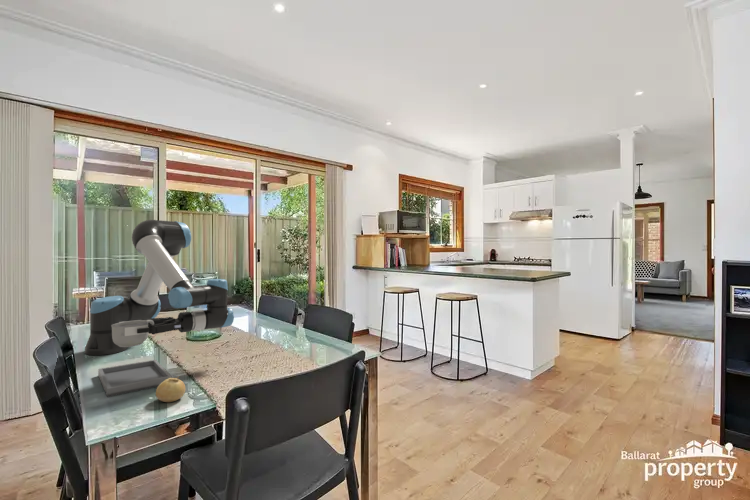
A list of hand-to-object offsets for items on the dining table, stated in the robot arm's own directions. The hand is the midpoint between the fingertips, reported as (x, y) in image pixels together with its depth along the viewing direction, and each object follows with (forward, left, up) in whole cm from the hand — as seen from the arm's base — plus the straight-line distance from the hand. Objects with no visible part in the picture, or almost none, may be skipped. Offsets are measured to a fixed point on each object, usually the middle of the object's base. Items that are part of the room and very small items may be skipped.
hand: (121, 328), depth 127 cm
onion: (+26, +9, -18) cm, 33 cm away
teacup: (0, +4, -6) cm, 7 cm away
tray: (0, +4, -18) cm, 19 cm away
